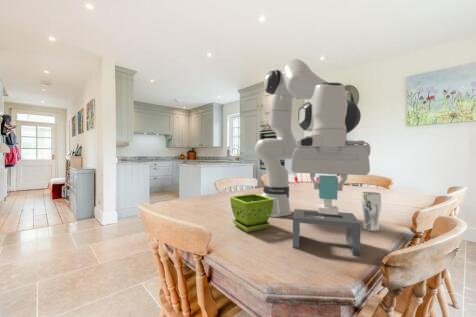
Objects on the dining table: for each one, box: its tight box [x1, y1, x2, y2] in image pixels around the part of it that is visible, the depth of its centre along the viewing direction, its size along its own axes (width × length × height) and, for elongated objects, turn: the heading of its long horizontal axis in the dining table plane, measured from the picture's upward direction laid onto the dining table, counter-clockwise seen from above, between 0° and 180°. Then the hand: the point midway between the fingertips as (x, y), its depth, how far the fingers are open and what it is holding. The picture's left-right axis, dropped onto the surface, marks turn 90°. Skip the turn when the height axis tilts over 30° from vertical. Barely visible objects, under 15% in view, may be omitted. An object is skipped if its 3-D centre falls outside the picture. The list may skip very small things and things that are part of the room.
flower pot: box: [229, 193, 273, 233], centre depth 93 cm, size 14×14×13 cm
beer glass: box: [361, 191, 382, 233], centre depth 91 cm, size 7×7×15 cm
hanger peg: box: [317, 174, 339, 215], centre depth 62 cm, size 5×5×10 cm
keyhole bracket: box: [292, 208, 361, 257], centre depth 76 cm, size 20×12×10 cm, turn 73°
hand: (327, 189), depth 62 cm, fingers closed on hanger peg, 4 cm apart
